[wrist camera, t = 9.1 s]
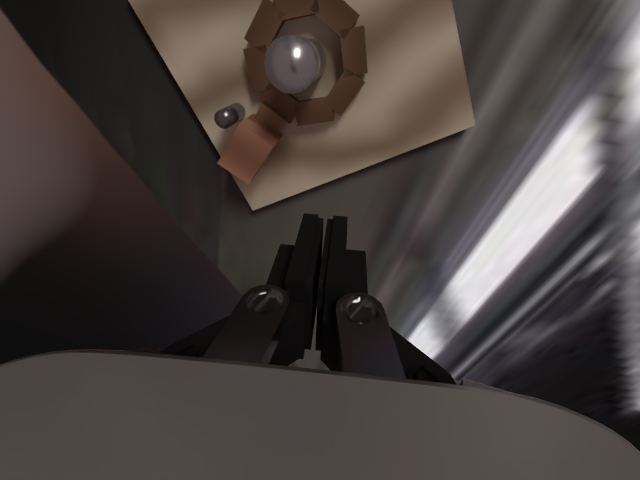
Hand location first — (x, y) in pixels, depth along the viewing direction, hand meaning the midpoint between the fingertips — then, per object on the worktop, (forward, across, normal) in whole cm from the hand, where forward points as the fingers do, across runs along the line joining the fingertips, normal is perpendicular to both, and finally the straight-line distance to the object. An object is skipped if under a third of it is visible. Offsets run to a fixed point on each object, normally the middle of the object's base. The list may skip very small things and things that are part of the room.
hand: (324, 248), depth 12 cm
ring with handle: (+18, +5, -3) cm, 19 cm away
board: (+20, +3, -5) cm, 21 cm away
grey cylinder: (+18, +6, -4) cm, 20 cm away
